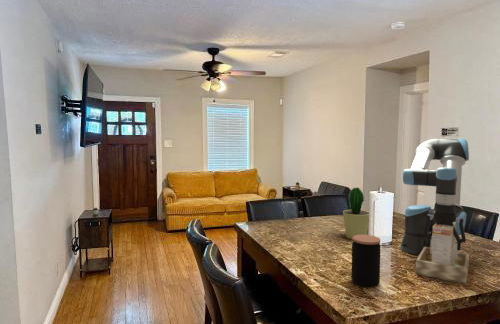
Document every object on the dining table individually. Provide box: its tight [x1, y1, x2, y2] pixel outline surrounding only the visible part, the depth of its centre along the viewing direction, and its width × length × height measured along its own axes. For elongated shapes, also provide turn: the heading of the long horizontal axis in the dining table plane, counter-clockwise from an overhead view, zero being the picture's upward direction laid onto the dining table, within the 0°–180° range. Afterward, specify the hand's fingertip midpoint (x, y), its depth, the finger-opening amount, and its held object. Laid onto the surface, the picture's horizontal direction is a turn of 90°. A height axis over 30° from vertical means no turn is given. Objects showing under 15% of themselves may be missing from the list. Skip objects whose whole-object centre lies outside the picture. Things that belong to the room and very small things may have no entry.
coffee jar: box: [350, 234, 382, 289], centre depth 133 cm, size 11×11×18 cm
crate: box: [415, 247, 470, 285], centre depth 145 cm, size 18×22×6 cm
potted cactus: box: [342, 187, 370, 240], centre depth 195 cm, size 15×15×30 cm
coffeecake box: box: [431, 222, 456, 266], centre depth 145 cm, size 15×7×20 cm, turn 141°
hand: (443, 255), depth 145 cm, fingers open, 8 cm apart
